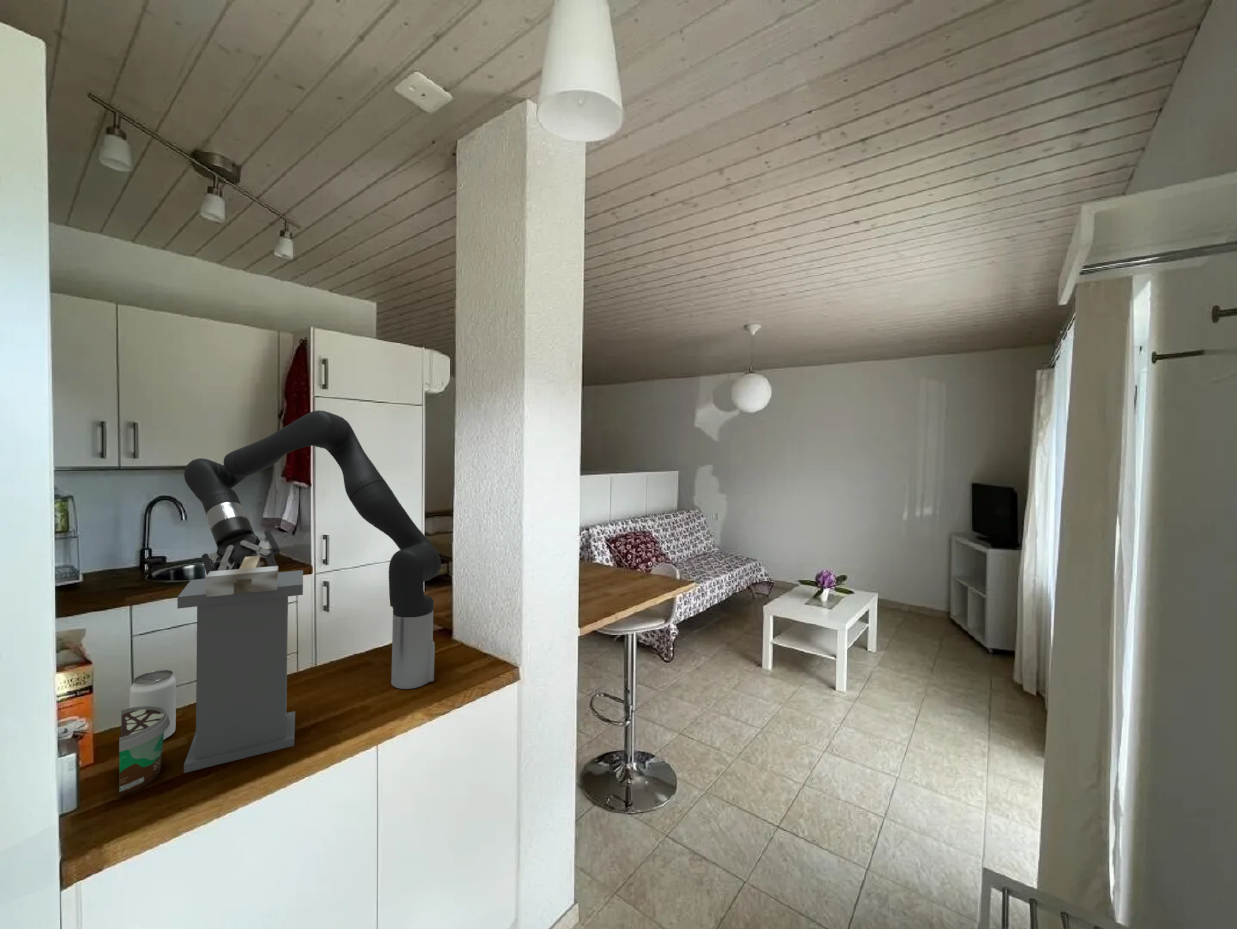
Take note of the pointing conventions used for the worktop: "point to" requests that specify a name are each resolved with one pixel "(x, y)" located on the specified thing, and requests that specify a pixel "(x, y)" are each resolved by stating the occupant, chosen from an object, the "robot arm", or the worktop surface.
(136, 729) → the food container
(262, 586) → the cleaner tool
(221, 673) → the stand
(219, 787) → the worktop surface
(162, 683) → the can
